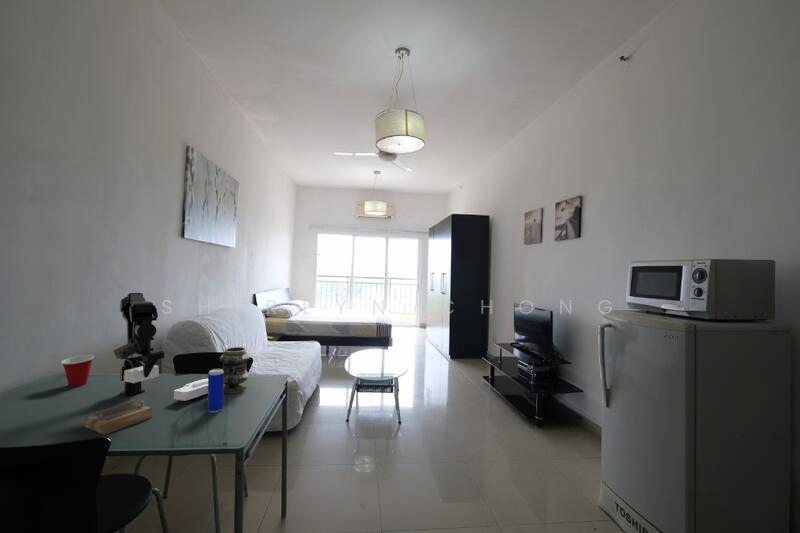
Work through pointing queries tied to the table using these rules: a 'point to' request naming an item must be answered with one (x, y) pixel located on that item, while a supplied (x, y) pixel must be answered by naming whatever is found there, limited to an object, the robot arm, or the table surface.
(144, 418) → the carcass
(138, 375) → the white block
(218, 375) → the beverage can
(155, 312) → the robot arm
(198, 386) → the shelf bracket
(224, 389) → the apothecary jar
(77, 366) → the plastic cup
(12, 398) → the table surface
